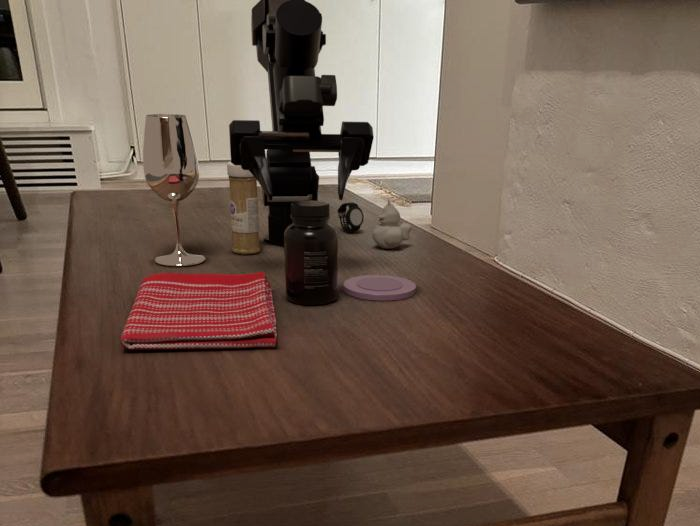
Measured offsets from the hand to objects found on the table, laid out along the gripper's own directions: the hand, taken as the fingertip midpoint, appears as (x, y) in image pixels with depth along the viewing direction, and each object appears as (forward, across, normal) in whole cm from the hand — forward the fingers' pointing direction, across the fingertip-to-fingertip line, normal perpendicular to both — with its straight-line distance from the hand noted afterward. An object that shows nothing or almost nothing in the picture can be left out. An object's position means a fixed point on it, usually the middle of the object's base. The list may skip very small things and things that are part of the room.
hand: (306, 198), depth 96 cm
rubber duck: (-8, +17, +24) cm, 31 cm away
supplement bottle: (+12, 0, +5) cm, 13 cm away
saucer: (+10, +10, +7) cm, 15 cm away
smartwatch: (-17, +12, +34) cm, 39 cm away
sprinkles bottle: (-7, -8, +24) cm, 26 cm away
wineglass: (-3, -18, +20) cm, 27 cm away
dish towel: (+17, -14, 0) cm, 22 cm away
